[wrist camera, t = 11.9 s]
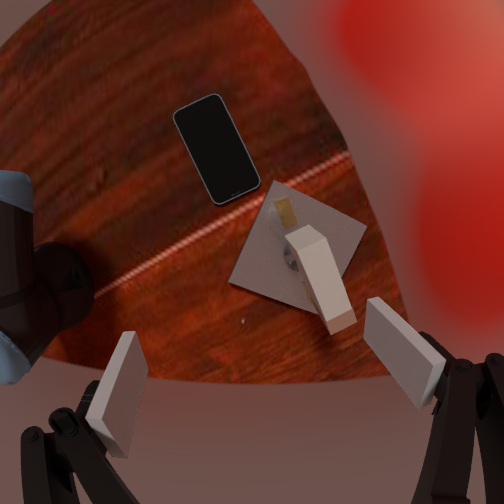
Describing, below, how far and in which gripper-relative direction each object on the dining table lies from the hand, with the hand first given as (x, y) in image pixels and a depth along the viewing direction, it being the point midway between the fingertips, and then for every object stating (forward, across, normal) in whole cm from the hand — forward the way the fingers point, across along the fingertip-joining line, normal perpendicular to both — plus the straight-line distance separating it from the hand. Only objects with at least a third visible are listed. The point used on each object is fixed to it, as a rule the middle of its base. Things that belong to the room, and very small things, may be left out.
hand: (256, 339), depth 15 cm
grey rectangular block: (+21, +9, -4) cm, 24 cm away
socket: (+28, +10, -4) cm, 30 cm away
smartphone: (+29, -1, +12) cm, 31 cm away
